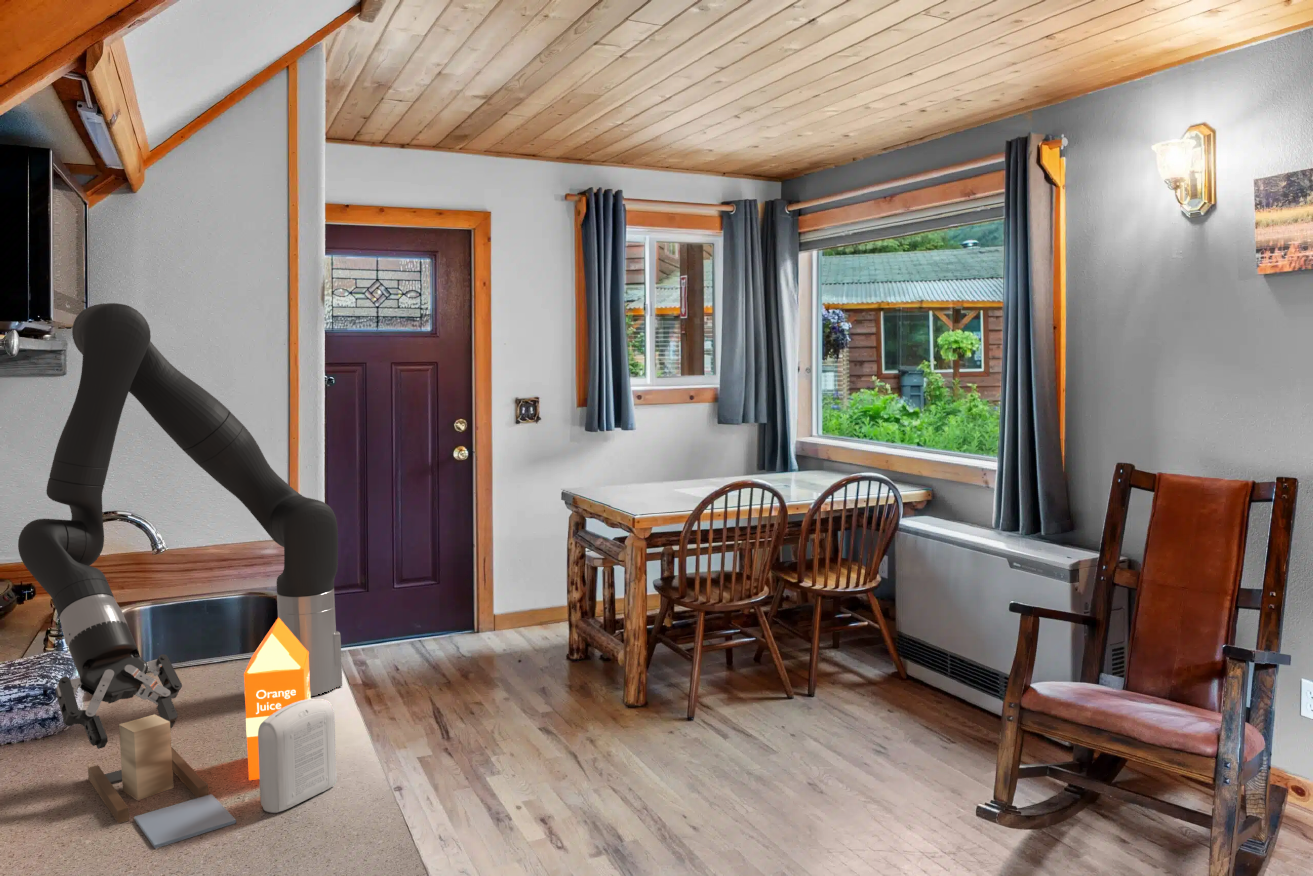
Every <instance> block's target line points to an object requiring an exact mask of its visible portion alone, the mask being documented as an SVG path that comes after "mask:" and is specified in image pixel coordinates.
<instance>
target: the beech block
mask: <svg viewBox="0 0 1313 876" xmlns="http://www.w3.org/2000/svg"><path fill="white" fill-rule="evenodd" d="M118 727H119V728H118V729H119V731H118V732H119V749H120V751H119V752H120V764H121V765H120V766H121V770H122V781H121V785H122V792H124V793H125V794H127V795H129V796H130V797H132V798H133V799H135V800H136V801H140V800H143V799H146V798H149V797H151V796H155V795H158V794H160V793H163V792H166V791H168V790H169V791H170V790H171V789H174V788H175V787H174V772H173V768H172V750H171V747H172V735H171V728H170V722H169V721H167V720H165V719H163V718H161V717H160V715H157V714H155V713H153V714H151V715H147V716H144V717H141V718H136V719H134V720H130V721H126V722H122V723H119V724H118Z"/></svg>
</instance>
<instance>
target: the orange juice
mask: <svg viewBox="0 0 1313 876" xmlns="http://www.w3.org/2000/svg"><path fill="white" fill-rule="evenodd" d="M262 639H263V640H262V641H260V642H261V643H260V644H259V645H258V647H257V648H256V650H255V651H254V653H253V654H252V656H251V658H249V659H250V660H249V662H248V664H247V666H246V669H245V671H244V673H243V678H244V679H243V680H244V701H245V702H244V703H245V730H246V744H247V745H246V746H247V764H248V766H247V768H248V781H252V780H259V752H258V729H259V726H260V724H261V723H262V722H263V721H264V720H265V719H267V718H268V717H269V716H270V715H272V714H273V713H275V712H276V711H278V710H280V709H282V708H283V707H285V706H288V705H290V704H292V703H295V702H298V701H301V700H306V699H312V696H310V679H309V676H310V675H309V652H308V651H307V650H306V649H305V648H304V646H303V645H302V644H301V643H300V642H299V641H298V639H297V638H296V637H295V636H294V635H293V634H292V632H291V631H290V630H289V629H288V628H287V627H286V625H285V624H284V623H283V622H282V621H281V619H280V618H279V617H278V616H277V619H275V622H274V623H273V625H272V626H271V627H270V629H269V631H268V632H267V633H266V635H265V636H264V638H262Z"/></svg>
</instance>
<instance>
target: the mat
mask: <svg viewBox="0 0 1313 876" xmlns="http://www.w3.org/2000/svg"><path fill="white" fill-rule="evenodd" d="M133 819H134V821H135V822H136V824H137V826H138V827H139V829H140V830H141V832H143V834H144V836H145V837H146V838H147V840H148V841H149V842H150V844H151V845H152V846H153V848H154V849H158V848H161V847H164V846H167V845H170V844H173V843H177V842H180V841H184V840H186V839H190V838H192V837H193V838H194V837H196V836H199V835H202V834H206V833H208V832H213V831H215V830H218V829H221V828H225V827H227V826H230V825H231V826H232V825H233V824H237V820H236V818H235V817H234V815H232V814H231V813H230V812H229V811H228V810H227V809H226V807H224V805H223V804H222V803H221V802H220V801H219V800H218V799H217V798H216V797H215V796H214V795H213V793H210V794H209V795H206V796H203V797H200V798H197V797H195V798H193V799H190V800H186V801H182V802H179V803H176V804H172V805H169V806H166V807H162V808H159V809H155V810H152V811H149V812H148V811H147V812H145V813H142V814H138V815H135V816H134V817H133Z"/></svg>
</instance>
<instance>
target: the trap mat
mask: <svg viewBox="0 0 1313 876" xmlns="http://www.w3.org/2000/svg"><path fill="white" fill-rule="evenodd" d="M104 774H105V776H106V777H107V778H108V780H109V781H110V783H111V784H112V785H113V784H117V783H122V769H119V770H115V771H111V772H107V773H104Z"/></svg>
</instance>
